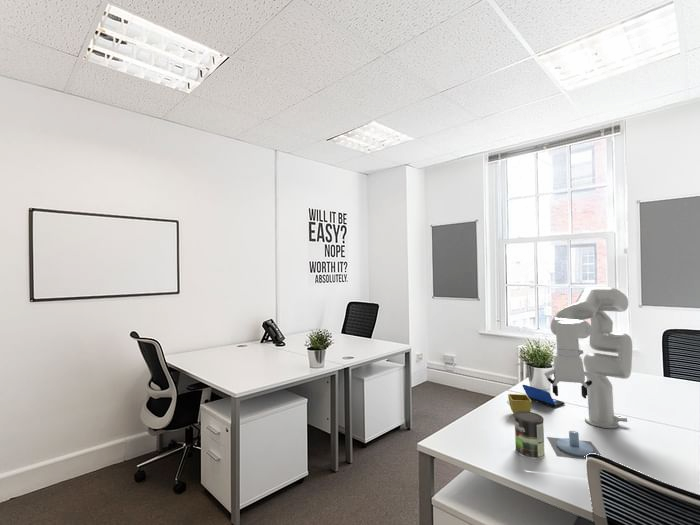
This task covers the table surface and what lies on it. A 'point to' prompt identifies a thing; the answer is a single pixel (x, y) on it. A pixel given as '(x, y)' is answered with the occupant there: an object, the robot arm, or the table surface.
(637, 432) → the table surface
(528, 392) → the handheld game console
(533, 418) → the coffee can
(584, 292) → the robot arm
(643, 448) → the table surface
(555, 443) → the mat
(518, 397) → the flower pot
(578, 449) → the lid
